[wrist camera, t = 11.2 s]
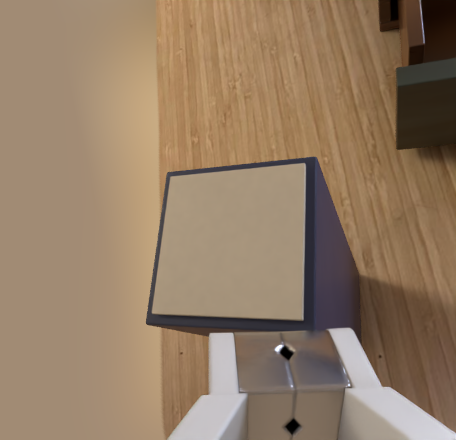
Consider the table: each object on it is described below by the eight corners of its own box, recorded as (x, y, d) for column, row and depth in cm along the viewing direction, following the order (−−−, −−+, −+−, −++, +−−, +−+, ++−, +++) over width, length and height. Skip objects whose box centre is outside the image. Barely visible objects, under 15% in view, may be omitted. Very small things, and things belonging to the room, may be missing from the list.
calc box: (279, 350, 26) (141, 324, 12) (282, 273, 27) (163, 169, 13) (361, 356, 24) (313, 333, 10) (359, 273, 26) (315, 152, 11)
